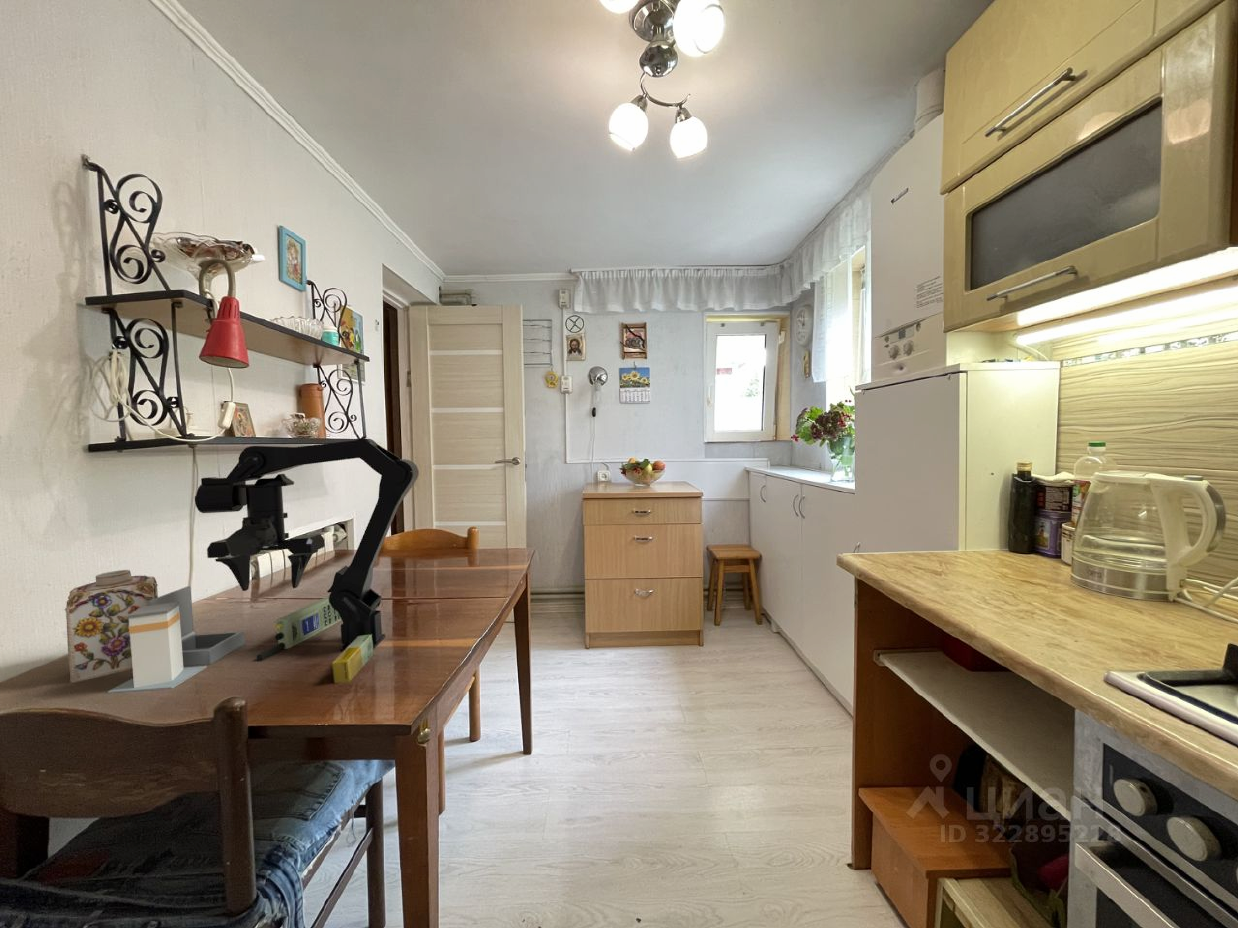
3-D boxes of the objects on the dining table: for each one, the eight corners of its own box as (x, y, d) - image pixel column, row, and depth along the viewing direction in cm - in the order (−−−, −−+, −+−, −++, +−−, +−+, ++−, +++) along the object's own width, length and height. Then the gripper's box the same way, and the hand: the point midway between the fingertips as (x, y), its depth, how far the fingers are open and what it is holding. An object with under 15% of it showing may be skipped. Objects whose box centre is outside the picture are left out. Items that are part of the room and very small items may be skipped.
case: (244, 645, 101) (240, 583, 101) (210, 666, 92) (205, 597, 91) (191, 648, 100) (186, 586, 100) (150, 670, 91) (145, 601, 90)
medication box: (360, 654, 95) (358, 634, 95) (374, 653, 96) (373, 633, 96) (333, 684, 83) (331, 661, 83) (350, 682, 84) (348, 660, 84)
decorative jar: (160, 664, 93) (153, 571, 92) (69, 686, 85) (60, 585, 85) (163, 646, 102) (156, 561, 101) (81, 664, 94) (73, 572, 94)
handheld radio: (352, 617, 117) (268, 664, 92) (340, 617, 117) (252, 664, 93) (350, 589, 117) (264, 629, 92) (337, 590, 117) (248, 630, 92)
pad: (207, 668, 91) (206, 665, 91) (171, 690, 83) (171, 687, 83) (148, 673, 90) (148, 669, 90) (107, 695, 82) (107, 691, 82)
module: (184, 668, 90) (179, 601, 89) (172, 681, 85) (167, 610, 84) (147, 675, 87) (142, 606, 87) (133, 688, 83) (127, 615, 82)
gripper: (180, 518, 86) (187, 605, 87) (292, 513, 88) (297, 599, 89) (225, 510, 97) (230, 587, 98) (323, 505, 99) (328, 581, 100)
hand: (270, 588), depth 96 cm, fingers open, 9 cm apart
